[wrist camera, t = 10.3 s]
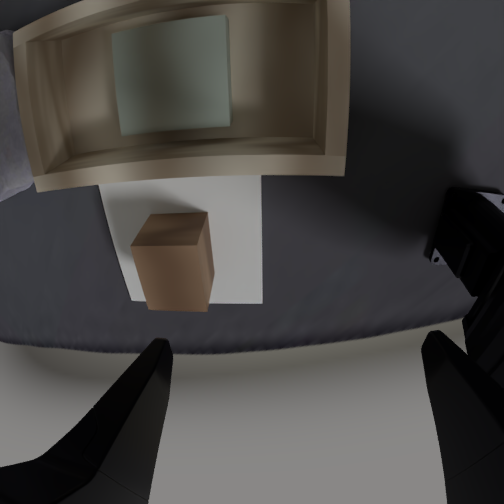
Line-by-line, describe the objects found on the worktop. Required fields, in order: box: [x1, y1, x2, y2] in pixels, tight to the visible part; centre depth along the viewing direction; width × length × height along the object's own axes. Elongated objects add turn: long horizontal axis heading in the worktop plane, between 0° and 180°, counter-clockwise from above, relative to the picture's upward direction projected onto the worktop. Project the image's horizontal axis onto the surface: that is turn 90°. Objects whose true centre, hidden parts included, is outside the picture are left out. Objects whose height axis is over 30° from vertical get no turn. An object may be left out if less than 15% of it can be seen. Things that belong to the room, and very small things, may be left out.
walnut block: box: [130, 212, 215, 312], centre depth 20 cm, size 4×5×4 cm
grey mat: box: [98, 175, 262, 304], centre depth 22 cm, size 11×11×1 cm
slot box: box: [13, 0, 350, 192], centre depth 13 cm, size 17×10×4 cm, turn 92°
